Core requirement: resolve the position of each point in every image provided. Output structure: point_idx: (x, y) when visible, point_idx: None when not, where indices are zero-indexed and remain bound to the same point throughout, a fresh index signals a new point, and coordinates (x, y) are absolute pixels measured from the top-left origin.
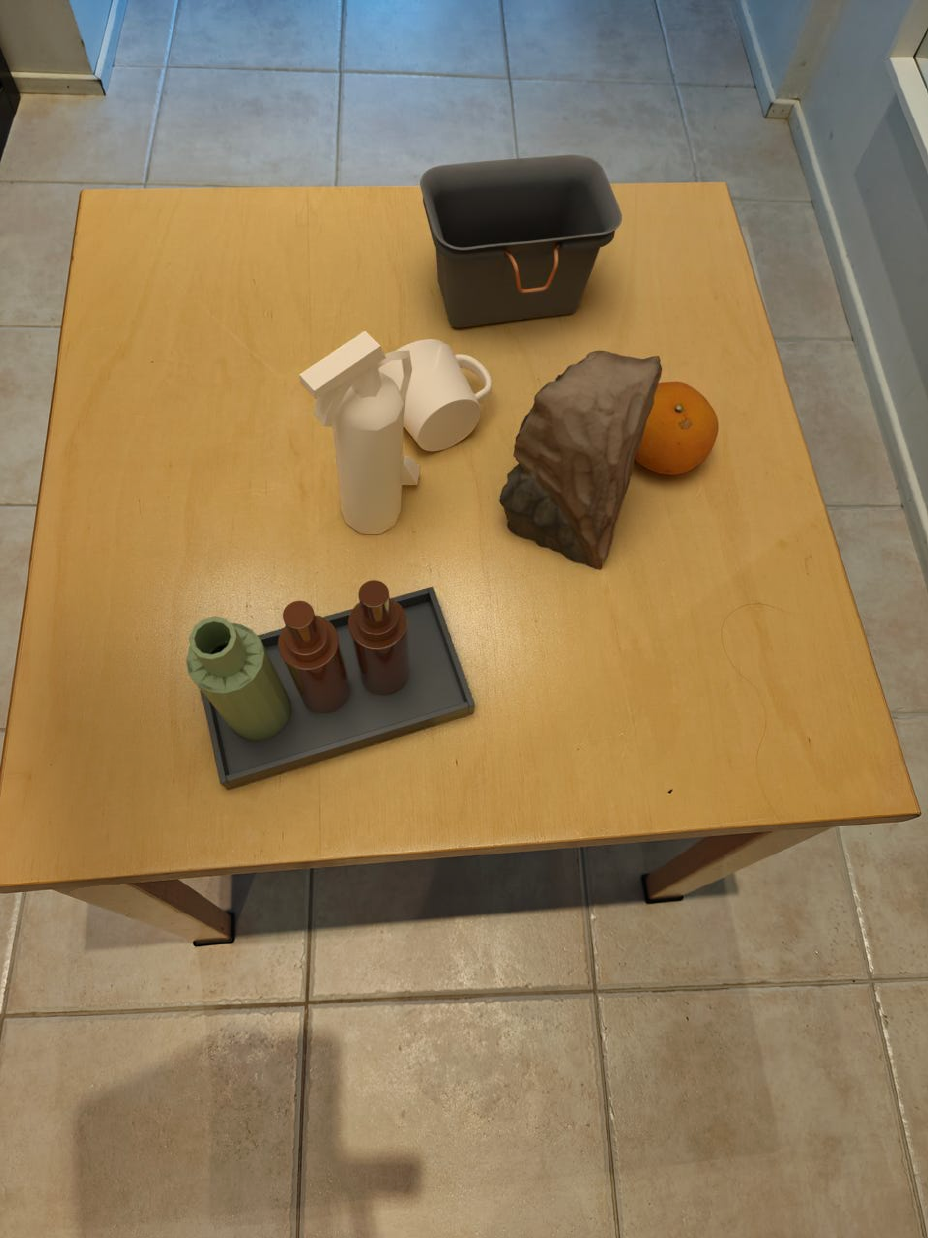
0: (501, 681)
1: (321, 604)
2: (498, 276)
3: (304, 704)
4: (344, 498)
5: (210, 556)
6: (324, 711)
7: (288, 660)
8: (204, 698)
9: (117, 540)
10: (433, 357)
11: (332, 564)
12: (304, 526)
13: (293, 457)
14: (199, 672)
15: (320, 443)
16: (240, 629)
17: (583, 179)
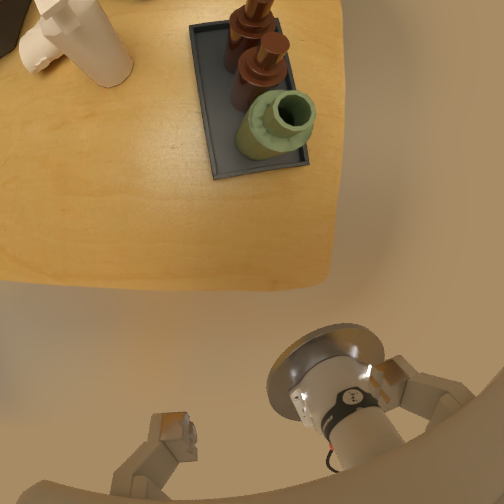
0: None
1: (179, 97)
2: (3, 15)
3: None
4: (110, 70)
5: (130, 175)
6: None
7: (277, 81)
8: (249, 171)
9: (114, 242)
10: (32, 32)
11: (149, 91)
12: (116, 111)
13: (65, 125)
14: (293, 141)
15: (59, 108)
16: (256, 105)
17: None
